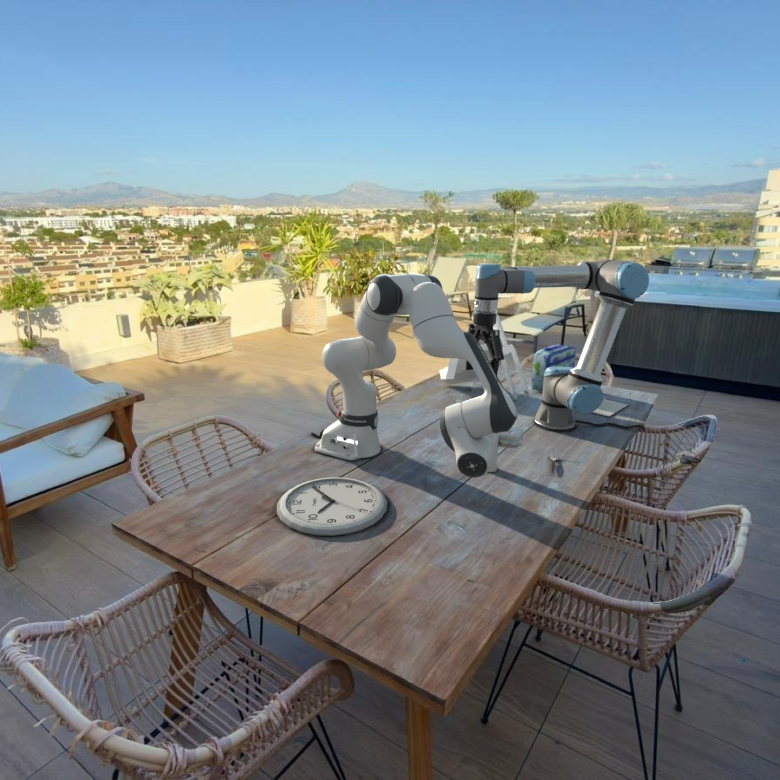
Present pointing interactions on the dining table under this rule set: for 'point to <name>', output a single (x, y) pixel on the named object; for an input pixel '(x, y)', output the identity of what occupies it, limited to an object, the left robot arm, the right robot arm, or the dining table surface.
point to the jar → (494, 463)
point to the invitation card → (609, 407)
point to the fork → (554, 460)
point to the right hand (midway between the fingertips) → (480, 374)
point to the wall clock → (331, 506)
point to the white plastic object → (458, 366)
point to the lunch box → (550, 362)
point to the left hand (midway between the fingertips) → (488, 423)
